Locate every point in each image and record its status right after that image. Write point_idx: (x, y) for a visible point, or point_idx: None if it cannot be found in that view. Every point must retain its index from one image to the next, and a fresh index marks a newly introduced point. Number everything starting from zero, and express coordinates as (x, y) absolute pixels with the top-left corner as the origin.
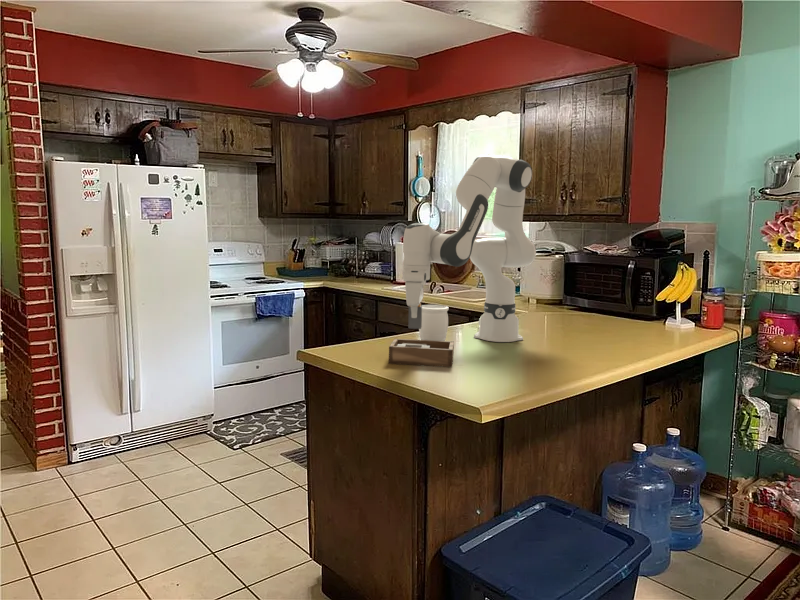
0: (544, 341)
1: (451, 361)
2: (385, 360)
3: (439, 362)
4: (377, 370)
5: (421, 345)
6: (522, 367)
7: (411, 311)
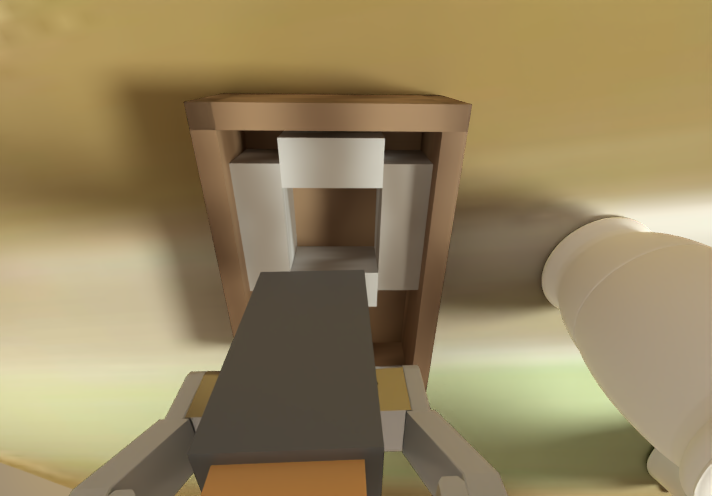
0: None
1: None
2: (291, 62)
3: None
4: (54, 49)
5: (378, 269)
6: None
7: (145, 433)
